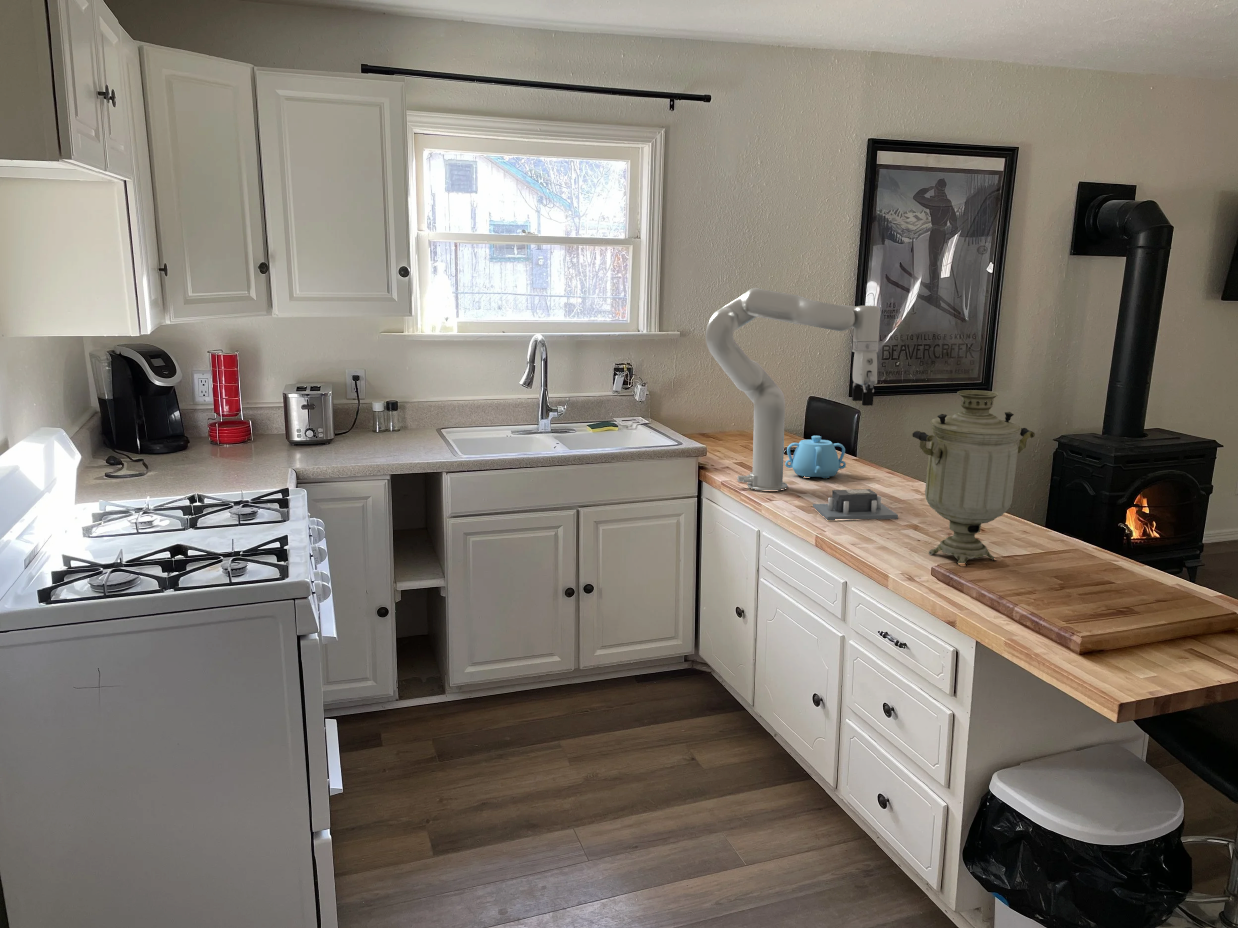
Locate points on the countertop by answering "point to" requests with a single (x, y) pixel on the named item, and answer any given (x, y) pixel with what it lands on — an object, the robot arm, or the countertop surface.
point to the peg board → (876, 512)
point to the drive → (853, 499)
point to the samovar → (971, 470)
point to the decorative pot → (815, 458)
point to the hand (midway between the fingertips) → (862, 403)
